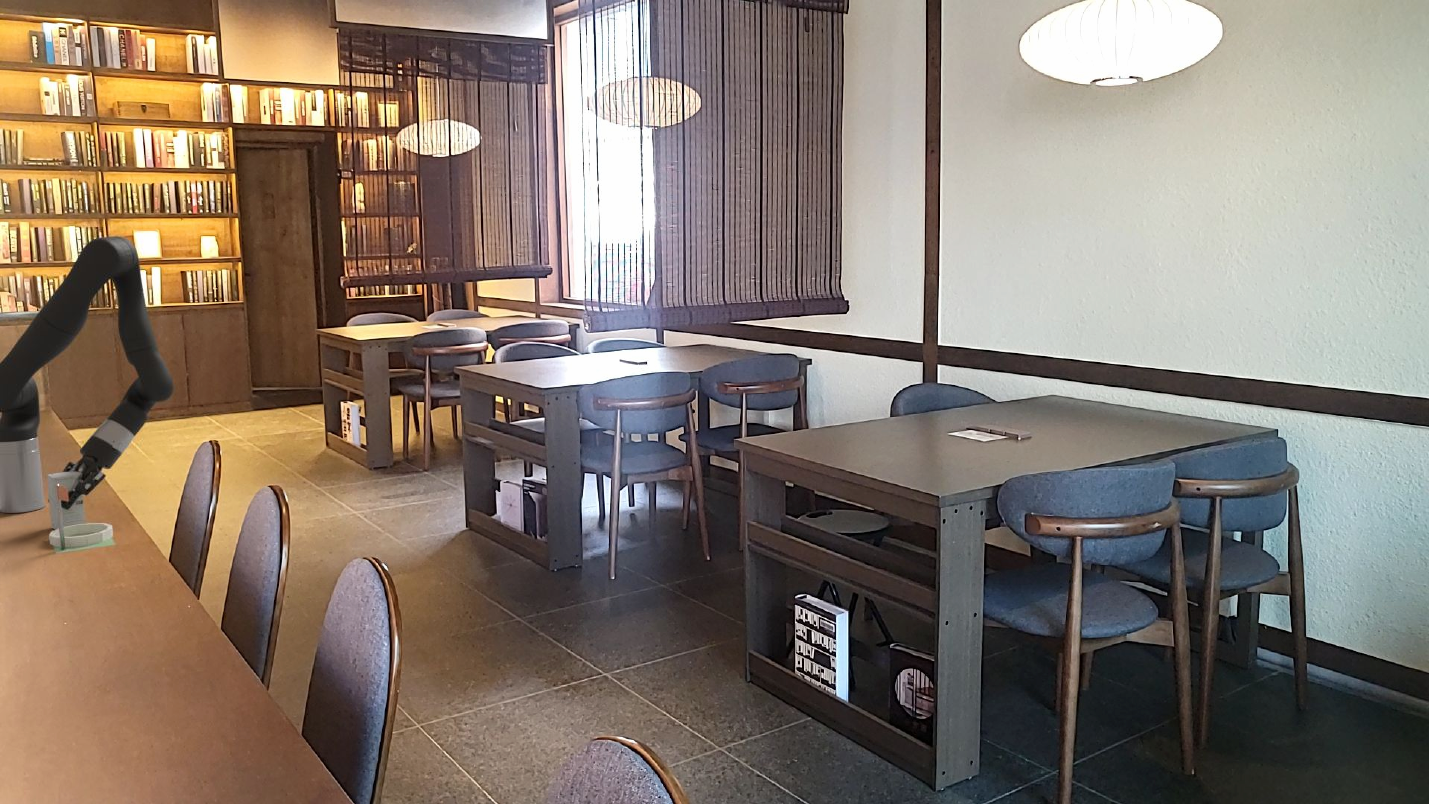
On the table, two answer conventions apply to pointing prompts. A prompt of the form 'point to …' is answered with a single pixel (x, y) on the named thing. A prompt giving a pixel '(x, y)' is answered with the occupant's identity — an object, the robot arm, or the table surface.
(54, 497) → the skincare box
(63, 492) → the pin flag
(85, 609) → the table surface
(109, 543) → the felt mat
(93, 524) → the cup
